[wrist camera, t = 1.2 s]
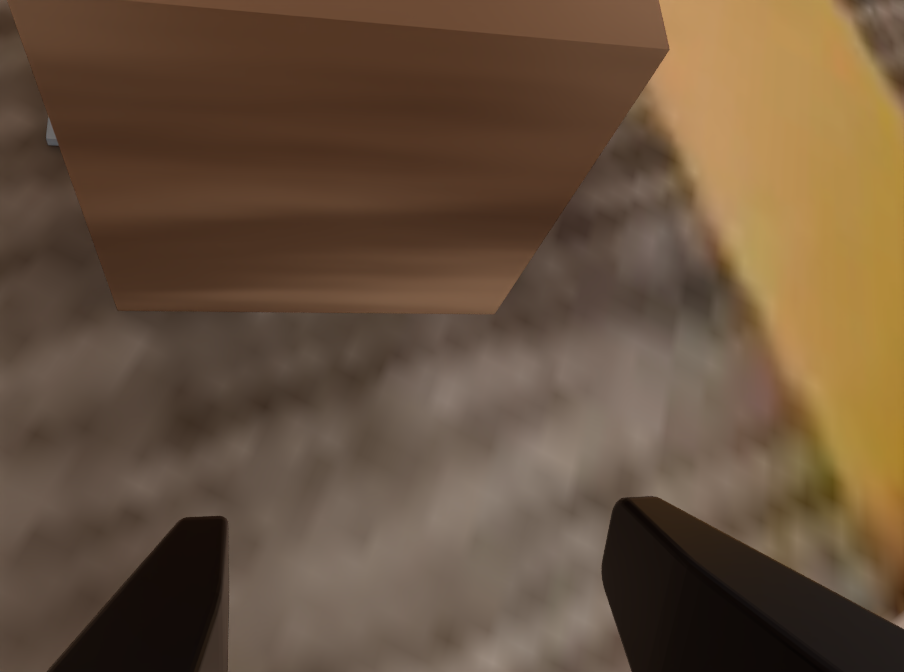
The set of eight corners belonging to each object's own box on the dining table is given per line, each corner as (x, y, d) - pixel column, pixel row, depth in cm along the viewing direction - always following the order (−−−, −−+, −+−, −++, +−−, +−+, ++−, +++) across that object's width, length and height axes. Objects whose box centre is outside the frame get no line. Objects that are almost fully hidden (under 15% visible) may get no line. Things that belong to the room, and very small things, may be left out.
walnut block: (494, 314, 24) (669, 49, 14) (117, 310, 21) (2, -11, 11) (480, 192, 25) (629, -128, 15) (126, 176, 23) (31, -213, 13)
